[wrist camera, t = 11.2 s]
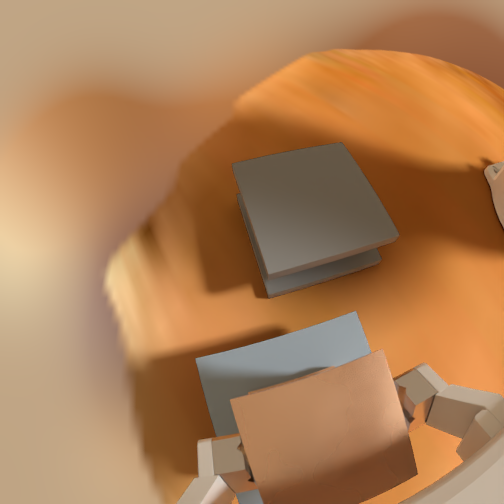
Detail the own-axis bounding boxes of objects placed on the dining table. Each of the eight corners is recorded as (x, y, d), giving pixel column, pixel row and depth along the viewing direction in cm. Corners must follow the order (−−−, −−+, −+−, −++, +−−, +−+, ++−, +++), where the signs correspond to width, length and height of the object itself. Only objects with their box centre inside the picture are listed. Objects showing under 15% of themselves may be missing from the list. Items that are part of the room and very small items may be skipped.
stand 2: (337, 327, 21) (356, 310, 16) (374, 441, 16) (401, 453, 12) (211, 365, 20) (195, 358, 15) (247, 483, 15) (240, 508, 11)
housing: (330, 366, 15) (382, 348, 8) (353, 439, 13) (417, 474, 5) (249, 391, 14) (229, 399, 7) (272, 465, 12) (273, 529, 5)
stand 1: (333, 178, 27) (342, 142, 23) (378, 264, 23) (399, 234, 18) (237, 200, 27) (231, 163, 22) (268, 298, 22) (268, 274, 18)
